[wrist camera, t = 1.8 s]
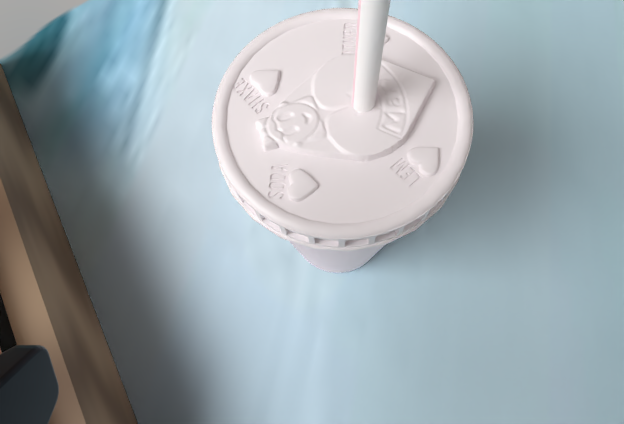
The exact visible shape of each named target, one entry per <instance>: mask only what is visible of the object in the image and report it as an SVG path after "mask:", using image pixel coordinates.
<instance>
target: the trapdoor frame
mask: <svg viewBox="0 0 624 424" xmlns="http://www.w3.org/2000/svg"><path fill="white" fill-rule="evenodd" d="M0 294H1V297H2V300H3V303H4V306H5V309H6V312H7V315H8V318H9V322H10V325H11V328H12V331H13V334H14V337H15V340H16V343H17V345H41V346H44V347H45V348H46V349H47V350H48V353H49V356H50V359H51V362H52V365H53V368H54V372H55V375H56V378H57V381H58V386H59V394H58V399H57V402H56V405H55V407H54V410H53V412H52V415H51V417H50V420H49V422H48V424H138V423H137V420H136V418H135V415H134V412H133V410H132V407H131V404H130V402H129V399H128V397H127V394H126V391H125V389H124V386H123V383H122V381H121V378H120V376H119V373H118V370H117V368H116V365H115V362H114V360H113V357H112V355H111V352H110V349H109V347H108V344H107V341H106V339H105V336H104V334H103V331H102V328H101V326H100V323H99V320H98V318H97V315H96V313H95V310H94V307H93V305H92V302H91V299H90V297H89V294H88V292H87V289H86V286H85V284H84V281H83V278H82V276H81V273H80V271H79V268H78V265H77V263H76V260H75V257H74V255H73V252H72V250H71V247H70V244H69V242H68V239H67V236H66V234H65V231H64V229H63V226H62V223H61V221H60V218H59V215H58V213H57V210H56V208H55V205H54V202H53V200H52V197H51V194H50V192H49V189H48V187H47V184H46V181H45V179H44V176H43V174H42V171H41V168H40V166H39V163H38V160H37V158H36V155H35V153H34V150H33V147H32V145H31V142H30V139H29V137H28V134H27V132H26V129H25V126H24V124H23V121H22V118H21V116H20V113H19V111H18V108H17V105H16V103H15V100H14V97H13V95H12V92H11V90H10V87H9V84H8V82H7V79H6V76H5V74H4V71H3V69H2V66H1V64H0Z"/></svg>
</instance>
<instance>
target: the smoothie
mask: <svg viewBox="0 0 624 424" xmlns="http://www.w3.org/2000/svg"><path fill="white" fill-rule="evenodd" d="M389 7H390V0H358V9H355V8H331V9H322V10H316V11H311V12H307V13H303V14H300V15H297V16H294V17H291V18H288V19H286V20H284V21H281V22H279V23H278V24H276V25H274V26H272V27H270V28H269V29H267V30H265V31H264V32H262V33H261V34H260V35H258V36H257V37H256V38H254V39H253V40H252V41H251V42H250V43H249V44H248V45H247V46H245V47H244V48H243V49H242V51H241V52H240V53H239V54H238V55H237V56H236V57H235V59H234V60H233V62H232V63H231V64H230V66H229V67H228V69H227V71H226V73H225V74H224V76H223V78H222V80H221V83H220V85H219V88H218V91H217V94H216V97H215V101H214V106H213V113H212V135H213V142H214V147H215V151H216V154H217V157H218V160H219V166H220V169H221V171H222V173H223V176H224V178H225V180H226V182H227V185H228V187H229V189H230V191H231V193H232V195H233V197H234V198H235V199H236V200H237V201H238V202H239V204H240V205H241V206H242V207H243V208H244V209H245V211H246V212H247V213H248V214H249V215H250V216H251V218H252V219H253V220H255V221H256V222H258V223H259V224H261V225H262V226H264V227H265V228H267V229H268V230H270V231H271V232H273V233H274V234H276V235H277V236H279V237H280V238H282V239H285V240H288V241H289V242H290V243H291V244H292V245H293V246H294V247H295V248H296V249H297V250H298V252H299V253H300V254H301V255H302V256H303V257H304V258H305V259H306V260H307V261H308V262H309V263H310V264H312V265H313V266H315V267H316V268H318V269H321V270H323V271H327V272H332V273H344V272H349V271H353V270H355V269H357V268H359V267H361V266H363V265H364V264H365V263H367V262H368V261H369V260H370V259H371V258H372V257H373V256H374V255H375V254H376V253H377V252H378V251H379V250H380V249H381V248H382V247H383V246H384V245H386V244H388V243H390V242H392V241H394V240H396V239H398V238H400V237H402V236H405V235H407V234H409V233H411V232H413V231H415V230H416V229H418V228H419V227H420V226H421V225H422V224H423V223H424V222H426V221H427V220H428V219H429V218H430V217H431V216H433V215H434V214H435V213H436V212H437V211H438V210H439V209H441V207H442V206H443V204H444V203H445V201H446V200H447V198H448V196H449V195H450V193H451V192H452V190H453V189H454V187H455V186H456V184H457V183H458V180H459V177H460V173H461V171H462V169H463V167H464V165H465V162H466V160H467V157H468V154H469V151H470V147H471V142H472V136H473V110H472V105H471V99H470V96H469V92H468V89H467V86H466V84H465V82H464V79H463V77H462V75H461V74H460V72H459V70H458V68H457V67H456V65H455V64H454V62H453V61H452V59H451V58H450V57H449V56H448V54H447V53H446V52H445V51H444V50H443V49H442V48H441V47H440V46H439V45H438V44H437V43H436V42H435V41H434V40H433V39H431V38H430V37H429V36H428V35H426V34H425V33H423V32H422V31H420V30H419V29H417V28H416V27H414V26H412V25H410V24H408V23H406V22H404V21H402V20H400V19H397V18H395V17H392V16H389V15H388V13H389Z"/></svg>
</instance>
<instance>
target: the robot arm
mask: <svg viewBox="0 0 624 424" xmlns="http://www.w3.org/2000/svg"><path fill="white" fill-rule="evenodd" d="M58 394H59V386H58V381H57V378H56V375H55V372H54V368H53V365H52V362H51V359H50V356H49V353H48V350H47V349H46V348H45V347H44V346H41V345H16V346H13V347H11V348H10V349H8V350H6V351H4V352H3V353H1V354H0V424H48V422H49V420H50V417H51V415H52V412H53V410H54V407H55V405H56V402H57V399H58Z"/></svg>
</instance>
